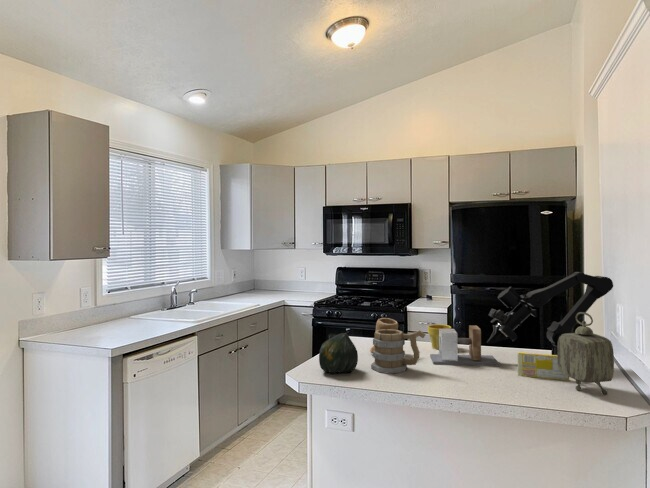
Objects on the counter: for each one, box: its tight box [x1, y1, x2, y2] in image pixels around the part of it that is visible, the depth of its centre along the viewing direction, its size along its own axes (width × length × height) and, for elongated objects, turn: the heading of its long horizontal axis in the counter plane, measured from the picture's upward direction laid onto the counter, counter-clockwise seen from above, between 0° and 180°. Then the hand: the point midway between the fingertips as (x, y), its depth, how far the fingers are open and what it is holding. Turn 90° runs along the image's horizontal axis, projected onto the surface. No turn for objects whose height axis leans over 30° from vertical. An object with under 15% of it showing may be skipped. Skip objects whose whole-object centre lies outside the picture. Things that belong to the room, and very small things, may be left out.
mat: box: [429, 353, 501, 367], centre depth 180 cm, size 25×12×1 cm, turn 82°
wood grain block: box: [457, 325, 482, 361], centre depth 180 cm, size 13×8×12 cm, turn 82°
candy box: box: [517, 351, 570, 382], centre depth 157 cm, size 16×2×8 cm, turn 65°
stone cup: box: [369, 317, 399, 354], centre depth 194 cm, size 15×12×15 cm
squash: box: [318, 332, 359, 374], centre depth 167 cm, size 14×15×15 cm
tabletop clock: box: [557, 312, 615, 396], centre depth 143 cm, size 14×9×25 cm, turn 12°
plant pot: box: [427, 324, 452, 350], centre depth 202 cm, size 10×10×10 cm
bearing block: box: [438, 328, 459, 361], centre depth 180 cm, size 6×9×11 cm, turn 172°
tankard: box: [370, 329, 426, 374], centre depth 169 cm, size 20×13×15 cm, turn 70°
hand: (487, 343), depth 178 cm, fingers closed
